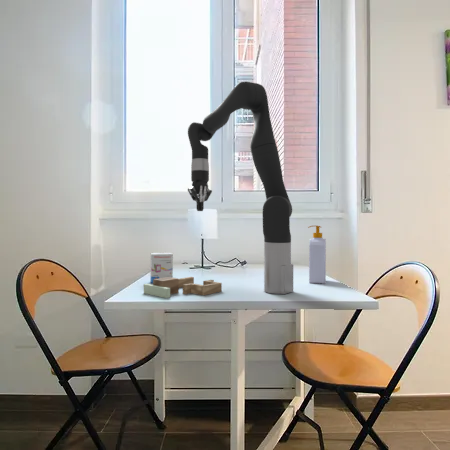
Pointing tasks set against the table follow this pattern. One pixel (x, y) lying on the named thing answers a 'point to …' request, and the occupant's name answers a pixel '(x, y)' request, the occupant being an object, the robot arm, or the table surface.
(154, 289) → the wall
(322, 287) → the table surface
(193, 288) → the wooden maze walls
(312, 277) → the soap bottle
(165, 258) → the ink box
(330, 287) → the table surface
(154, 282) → the walnut block
